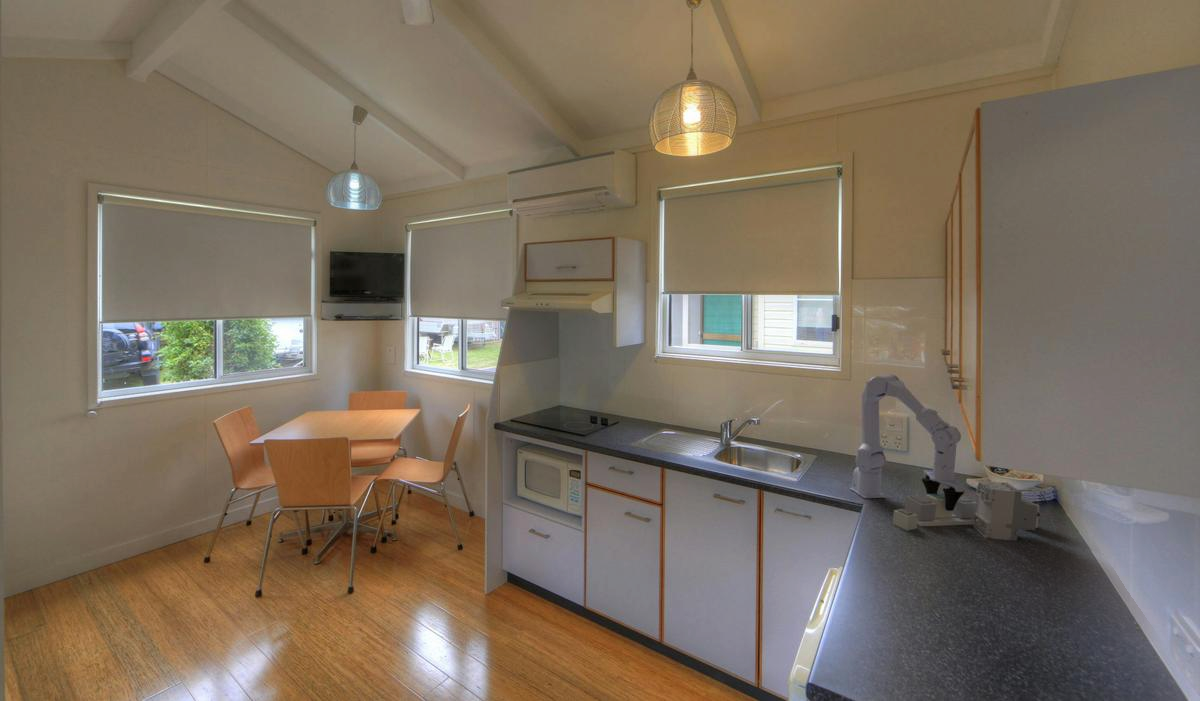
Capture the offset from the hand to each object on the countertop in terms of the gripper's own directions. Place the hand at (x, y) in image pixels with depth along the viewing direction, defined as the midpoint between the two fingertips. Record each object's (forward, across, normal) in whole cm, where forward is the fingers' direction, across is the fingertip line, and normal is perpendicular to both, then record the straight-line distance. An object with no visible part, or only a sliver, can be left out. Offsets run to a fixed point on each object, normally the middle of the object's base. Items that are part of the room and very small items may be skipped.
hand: (940, 505), depth 168 cm
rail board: (+5, 0, 0) cm, 5 cm away
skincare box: (+5, +6, +23) cm, 24 cm away
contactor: (+5, +4, -15) cm, 16 cm away
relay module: (+3, 0, 0) cm, 3 cm away
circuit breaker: (+5, +12, +12) cm, 18 cm away
